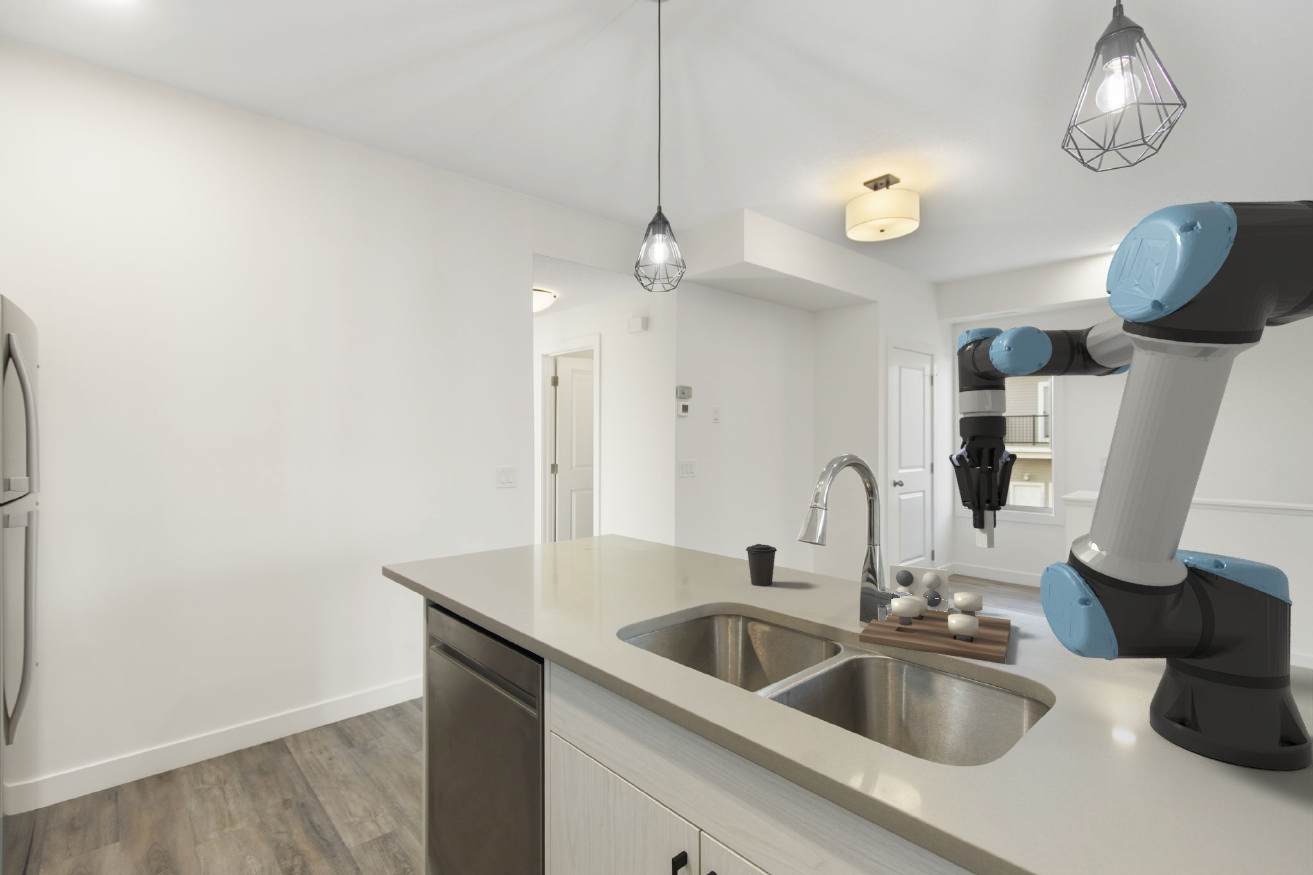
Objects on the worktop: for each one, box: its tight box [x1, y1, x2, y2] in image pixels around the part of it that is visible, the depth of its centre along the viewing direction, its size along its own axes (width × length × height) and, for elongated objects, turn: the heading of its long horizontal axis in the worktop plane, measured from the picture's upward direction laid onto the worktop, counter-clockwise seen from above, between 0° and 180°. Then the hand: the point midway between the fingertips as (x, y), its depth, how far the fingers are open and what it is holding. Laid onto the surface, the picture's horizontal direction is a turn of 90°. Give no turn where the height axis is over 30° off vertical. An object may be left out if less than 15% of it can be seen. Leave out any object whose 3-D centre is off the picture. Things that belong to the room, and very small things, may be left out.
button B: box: [891, 597, 919, 626], centre depth 121 cm, size 5×5×4 cm
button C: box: [953, 591, 984, 617], centre depth 124 cm, size 5×5×4 cm
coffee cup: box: [745, 543, 778, 587], centre depth 165 cm, size 8×8×10 cm
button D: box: [901, 595, 928, 620], centre depth 130 cm, size 5×5×4 cm
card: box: [889, 563, 951, 612], centre depth 142 cm, size 4×12×9 cm, turn 59°
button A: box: [948, 613, 978, 642], centre depth 116 cm, size 5×5×4 cm
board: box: [858, 610, 1012, 665], centre depth 123 cm, size 24×24×1 cm
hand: (985, 546), depth 114 cm, fingers closed
